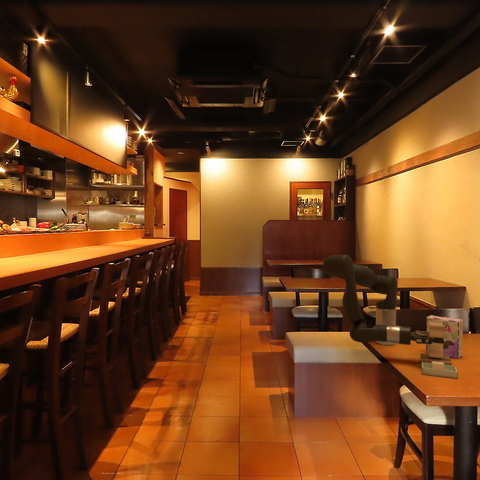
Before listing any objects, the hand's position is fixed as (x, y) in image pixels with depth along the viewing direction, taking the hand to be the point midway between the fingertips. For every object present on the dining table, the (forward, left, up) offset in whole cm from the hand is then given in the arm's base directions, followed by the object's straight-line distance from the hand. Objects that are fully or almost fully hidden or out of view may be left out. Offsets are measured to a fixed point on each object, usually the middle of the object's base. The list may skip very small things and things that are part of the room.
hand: (442, 339), depth 163 cm
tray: (+11, -2, -11) cm, 15 cm away
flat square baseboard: (+1, -3, -11) cm, 11 cm away
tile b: (+12, -3, -8) cm, 15 cm away
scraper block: (0, -3, -7) cm, 8 cm away
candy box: (-17, +2, -11) cm, 21 cm away
